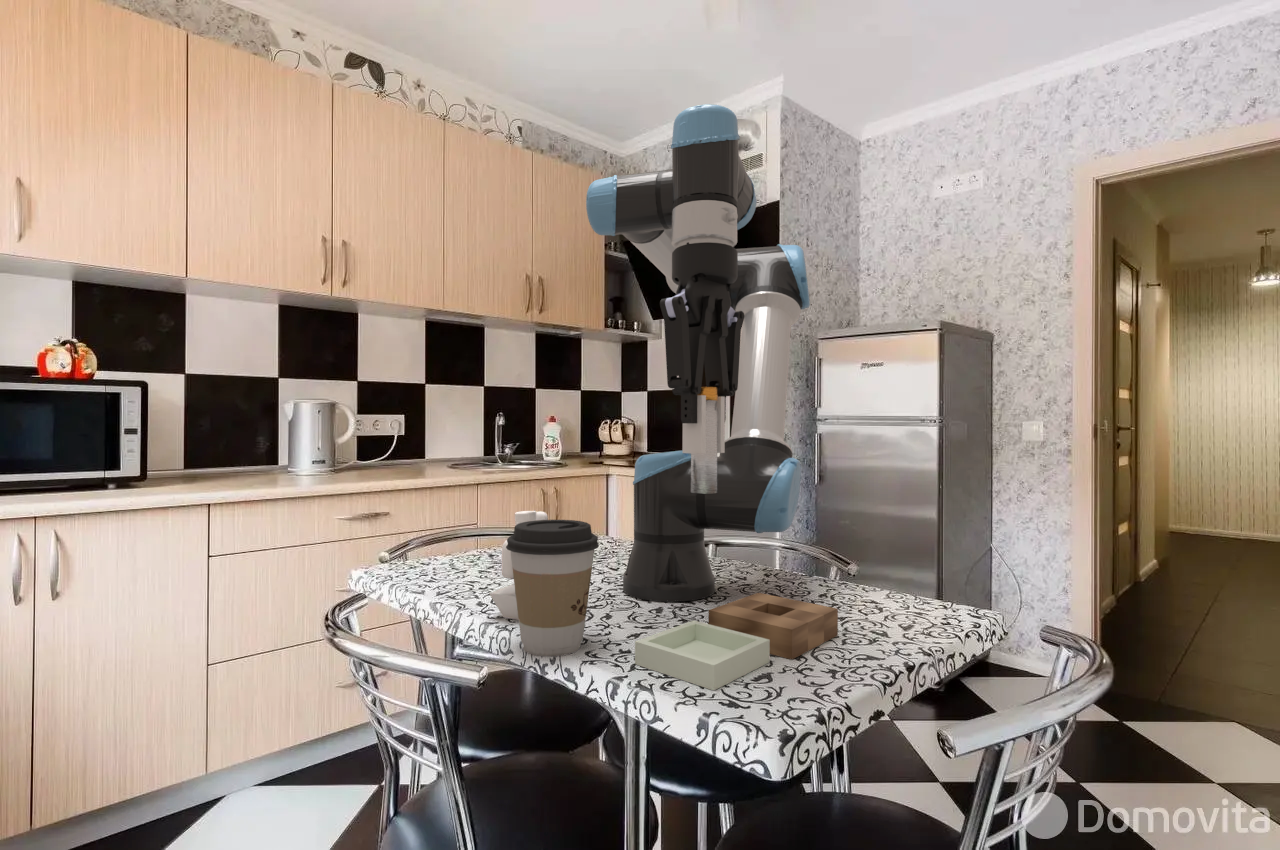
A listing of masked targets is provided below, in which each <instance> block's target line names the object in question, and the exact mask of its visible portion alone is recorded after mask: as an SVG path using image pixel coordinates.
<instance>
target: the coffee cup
mask: <svg viewBox="0 0 1280 850" xmlns="http://www.w3.org/2000/svg"><path fill="white" fill-rule="evenodd" d="M598 539H599V537H598V536H597V535H595V534H594V533H592V526H591V524H590V523H588V522H587V521H581V520H574V519H548V520H536V521H528V522H523V523H519V524H517V525H516V524H515V526H514V530H513V534H511V535H510V536H509V537H508V538H507V539H506V540H507V542H508V545H507V546H506V548H507V550H510V552H511V560H512V568H513V577H514V578H513V582H514V583H513V584H514V585H515V593H516V602H517V610H518V618H519V620H518V626H519V633H520V634H519V635H520V641H521V643H522V647H523V648H522V649H523V650H524V652H525V653H527V654H528V655H529V654H530V655H533V656H534V657H535V656H536V657H542V658H543V657H545V658H546V657H547V658H548V657H549V658H550V657H561V656H562V657H564V656H567V655H571V654H573V653H576V652H578V651H579V650H580V649H581V645H582V641H583V639H584V632H585V625H586V618H587V610H588V601H589V596H590V595H589V594H590V587H591V579H592V573H593V571H592V570H593V562H594V556H595V550H596V549H597V548H599V546H600V545H599V543H598Z"/></svg>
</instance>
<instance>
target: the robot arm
mask: <svg viewBox="0 0 1280 850" xmlns="http://www.w3.org/2000/svg"><path fill="white" fill-rule="evenodd" d="M738 124H739V123H738V117H737V115H736V114H735V112H734V111H733V110H731V109H730V108H728V107H726V106H723V105H721V104H710V103H705V104H700V105H694V106H690V107H687V108H685V109H684V110H681V112H680V113H678V114H677V115H676V117H675V119H674V122H673V128H672V138H671V139H672V140H671V145H670V149H671V151H672V152H671V153H672V154H671V158H672V160H671V162H672V164H671V165H672V167H671V168H670V169H669V168H668V169H663V170H655V171H649V172H640V173H630V174H622V175H617V174H614V175H613V176H609V177H605V178H599V179H596V180H594V181H592V182H591V183H590V185H589V186H588V189H587V191H586V196H585V197H586V199H585V200H586V201H585V205H586V207H585V208H586V213H587V214H586V215H587V219H588V222H589V225H590V227H591V229H592V230H593V232H594V233H595V234H597V235H598V236H612V237H615V236H617V235H622V236H623V237H625V238H626V239H627V240H628V241H630V243H631V244H632V245H633V246H635V248H636V249H638V250H639V252H641V254H642V255H644V257H645V258H646V259H648V260H649V262H650V263H652V264H653V265H654V266H655V267H656V268H657V269H658V270H659V271H660V272H661V273H662V274H663V275H664V276H665V280H666V283H667V285H668V287H669V289H670V290H671V291H672V292H673V293H675V295H674V296H672V297H666V298H661V300H660V301H659V307H660V311H661V314H662V315H661V316H662V317H663V323H664V324H663V325H664V342H665V343H664V344H665V360H666V361H665V362H666V380H667V381H666V382H667V386H668V388H669V389H671V390H672V391H671V392H672V394H673V395H674V396H680V420H681V424H682V450H675V451H664V452H658V453H649V454H643V455H641V456H639V457H638V458H637V459H636V460H635V464H634V477H633V481H632V485H633V545H632V547H631V552H630V554H629V556H628V557H629V558H628V561H627V564H626V565H627V566H626V570H625V572H623V576H622V579H623V580H622V590H623V593H624V594H627V596H631V597H633V598H637V599H640V600H647V601H653V602H654V601H656V602H670V603H671V602H673V603H674V602H689V601H696V600H701V599H704V598H708V597H710V596H712V595H713V594H715V590H716V589H715V586H716V582H715V575H714V574H713V571H712V567H711V562H710V559H709V556H708V553H707V549H706V547H705V530H716V531H717V530H719V531H721V530H722V531H731V532H732V531H735V532H752V533H755V534H763V533H782V532H785V531H786V530H788V529H789V528H790V527H791V526H792V524H793V522H794V518H795V517H796V514H797V513H796V512H797V509H798V503H799V498H800V491H801V481H802V465H801V462H800V460H799V459H798V458H795V457H793V450H792V447H790V445H789V444H788V443H786V442H785V441H784V439H785V424H786V411H787V409H786V408H787V393H788V376H789V364H790V360H789V359H790V347H791V346H790V345H791V329H792V326H793V325H795V324H796V323H797V322H798V321H799V319H800V316H801V314H802V313H801V310H805V309H809V307H810V306H811V303H810V292H809V284H808V276H807V268H806V260H805V253H804V250H803V247H801V246H800V245H797V244H781V243H780V244H779V243H778V244H777V245H776V246H774V245H773V246H763V247H760V246H759V247H747V248H745V247H744V248H735V246H736V245H737V243H738V231H739V230H740V229H742V228H744V227H745V226H746V225H747V224H749V222H750V221H751V220H752V218H753V216H754V214H755V212H756V209H757V195H756V191H755V186H754V183H753V180H752V178H751V177H750V175H748V173H747V171H746V169H745V166H744V164H743V161H742V158H741V156H740V155H739V154H740V153H739V141H740V138H741V137H740V135H739V127H738V126H739V125H738ZM704 373H705V375H704V377H705V387H717V388H718V405H717V454H719V456H717V493H709V494H703V493H692V492H691V453H693V454H706V395H698V394H700V392H701V387H703V386H702V384H703V374H704ZM733 396H734V403H733V404H734V405H733V412H732V413H733V414H732V423H731V430H730V431H731V432H730V437H728V438H727V439H725V436H726V434H725V427H726V425H725V424H726V419H727V416H726V412H727V409H726V407H727V403H726V401H727V399H726V398H727V397H733Z"/></svg>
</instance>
